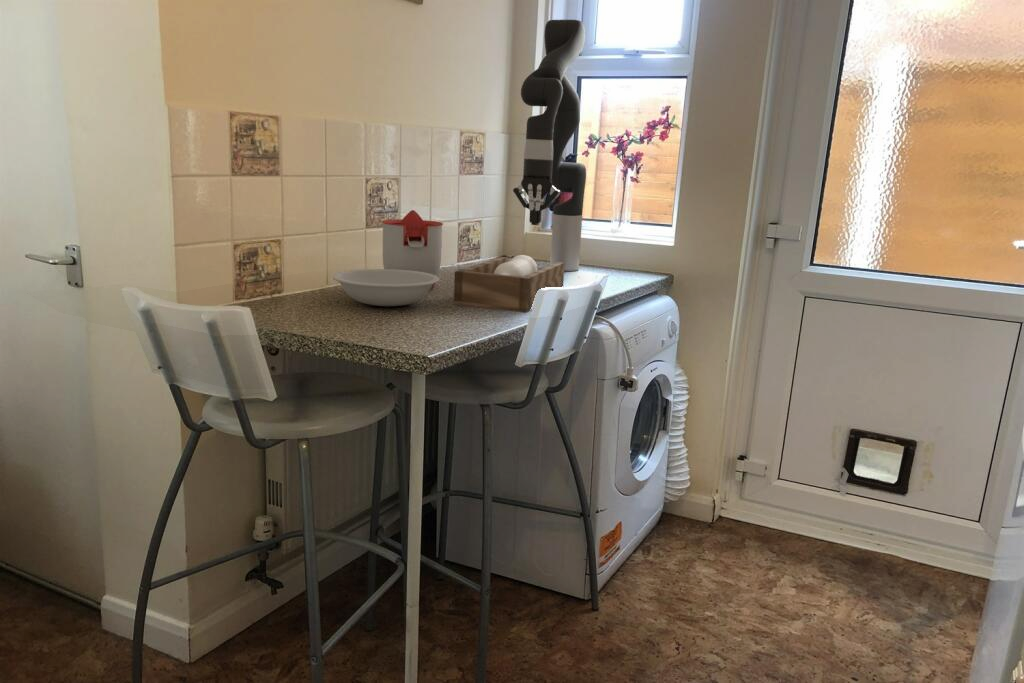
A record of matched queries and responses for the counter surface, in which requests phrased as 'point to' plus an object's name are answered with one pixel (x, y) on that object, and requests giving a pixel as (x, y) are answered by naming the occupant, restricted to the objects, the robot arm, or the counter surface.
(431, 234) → the citrus juicer
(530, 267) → the bottle
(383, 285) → the soup bowl
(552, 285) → the brown wooden open box
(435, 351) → the counter surface
